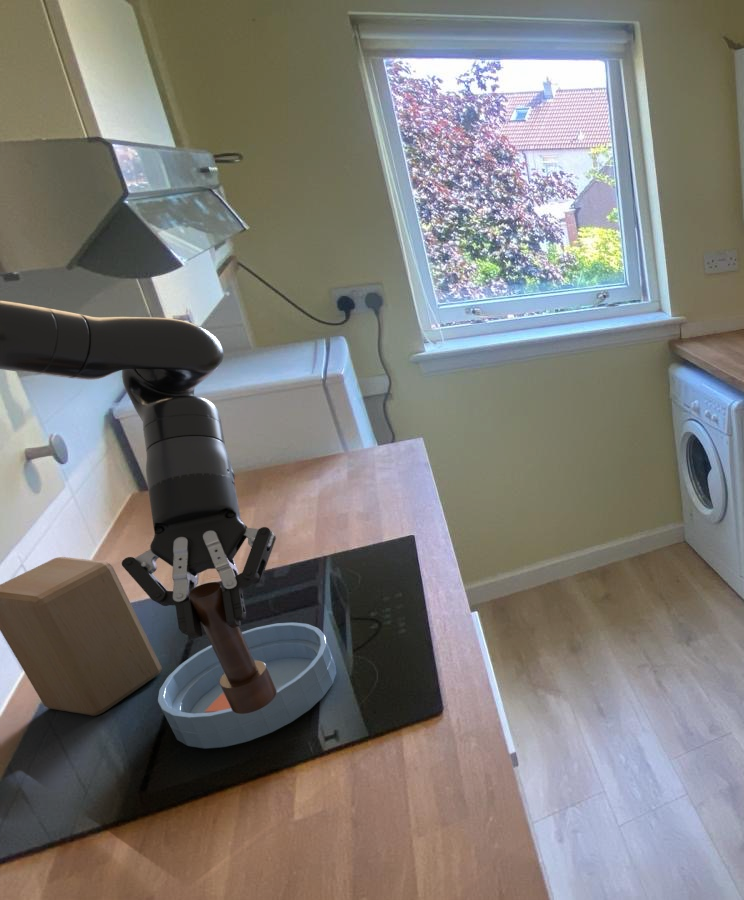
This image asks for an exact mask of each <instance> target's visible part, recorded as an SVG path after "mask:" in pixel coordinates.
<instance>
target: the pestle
mask: <svg viewBox="0 0 744 900" xmlns="http://www.w3.org/2000/svg"><path fill="white" fill-rule="evenodd" d="M222 592H224V589H223V587H222V585H221V583H219V582H216V581H213V582H205V583H202V584H200V585H196V587H195V588H194V589H192V590H191V591H190V592H189V595H188V596H189V598H190V600H191V603H192V605H193V607H194V609H195V611H196V613H197V615H198V617H199V620H200V622H201V627H202V628H203V631H204V633H205V634H206V637H207V638H208V641H209V643H210V645H212V647H213V649H214V651H215V653H216V656H217V658H218V660H219V662H220V664H221V666H222V668H223V670H224V674H223V675H222V677H221V678H220V681H219V683H220V686H221V688H222V690H223V692H224V694H225V696H226V698H227V700H228V702H229V705H230V707H231V709H232V710H233V711H234V712H235V713H238V714H246V713H251V712H254V711H257V710H259V709H261V708H263V707H265V706H266V705H268V704H269V703H270V702H271V701H272V700H273V699H274V697H275V696H276V692H277V691H276V688H275V686H274V683H273V681H272V679H271V676H270V674H269V672H268V669H267V667H266V665H265V663H264V662H262V661H258V660H254V659H253V657H252V655H251V653H250V650H249V648H248V646H247V644H246V641H245V639H244V637H243V635H242V632H243V631H242V630H241V627H240V626H238V627H235V628H232V627H230V626H228V624H227V621H226V615H225V608H224V602H223V596H222Z"/></svg>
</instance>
